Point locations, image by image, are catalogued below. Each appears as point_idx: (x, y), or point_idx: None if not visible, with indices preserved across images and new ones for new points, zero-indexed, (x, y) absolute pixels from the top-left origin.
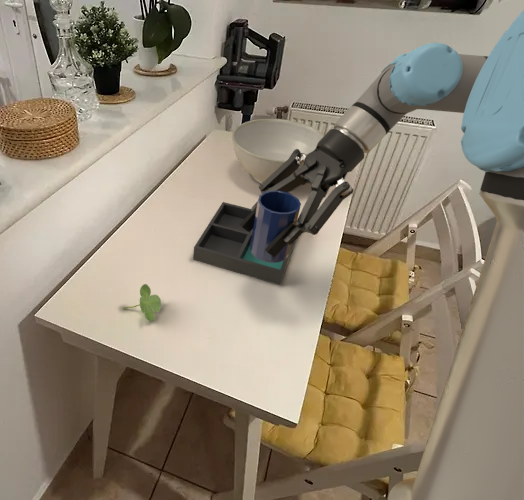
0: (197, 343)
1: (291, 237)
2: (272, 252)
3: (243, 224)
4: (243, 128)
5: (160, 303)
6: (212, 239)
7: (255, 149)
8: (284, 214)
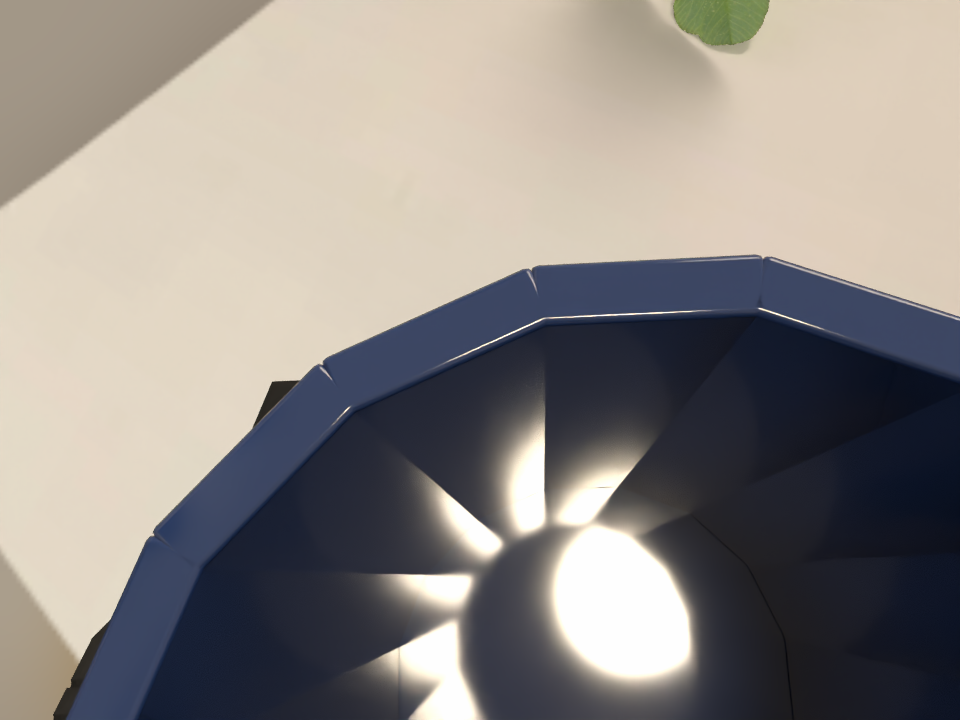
0: (396, 123)
1: (74, 696)
2: None
3: None
4: None
5: (723, 41)
6: None
7: None
8: (107, 640)
